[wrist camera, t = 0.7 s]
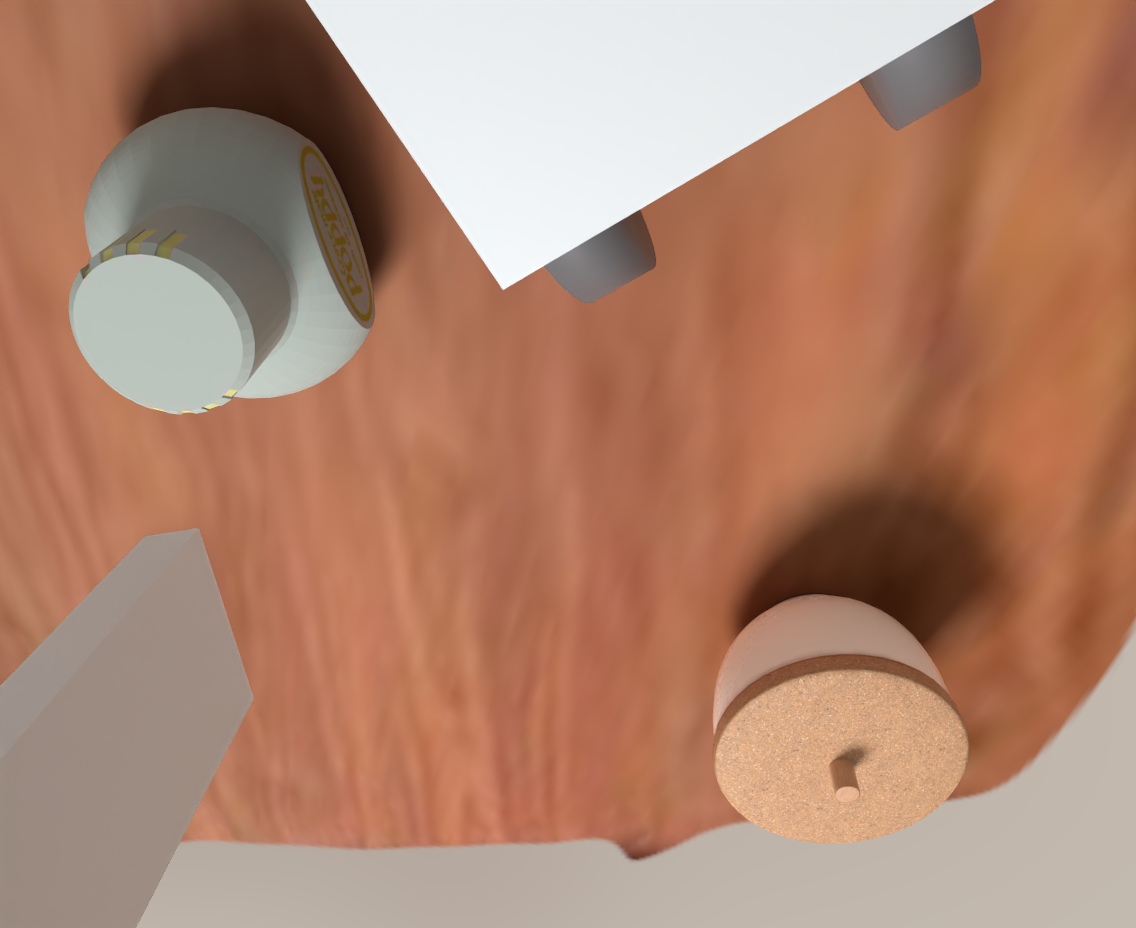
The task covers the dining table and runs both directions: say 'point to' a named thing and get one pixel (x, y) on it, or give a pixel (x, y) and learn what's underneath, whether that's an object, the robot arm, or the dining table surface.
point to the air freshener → (218, 264)
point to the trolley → (623, 103)
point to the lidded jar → (834, 723)
